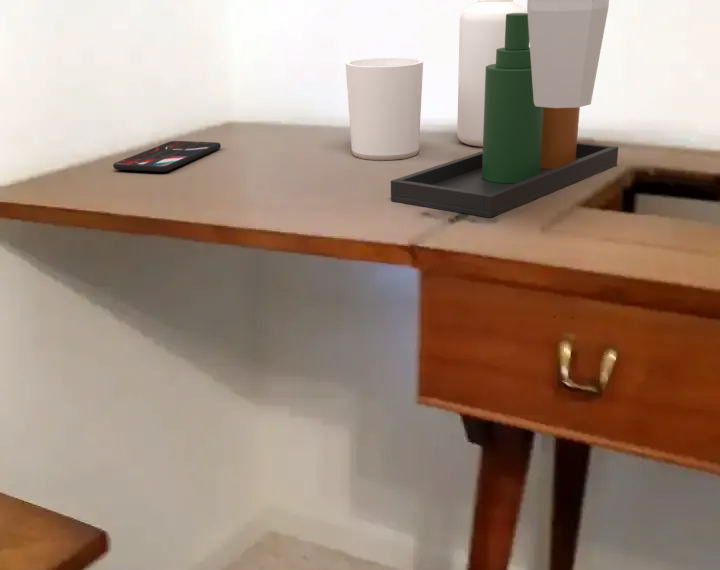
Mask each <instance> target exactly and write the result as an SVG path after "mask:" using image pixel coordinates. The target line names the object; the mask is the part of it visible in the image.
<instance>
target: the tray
mask: <svg viewBox="0 0 720 570" xmlns="http://www.w3.org/2000/svg"><path fill="white" fill-rule="evenodd" d="M619 148H620V147H619V146H614V145H606V144H596V143H595V144H594V143H587V142H580V141H579V142H578V141H577V149H576V160H575V161H573V162H570V163H567V164H565V165H562V166H560V167H557V168H554V169H540V174H539V175H536V176H534V177H531V178H528V179H526V180H523V181H521V182H518V183H515V184H504V183H495V182H490V181H487V180H484V179H483V178H482V158H483V150H481V151H478V152H475V153H472V154H469V155H465V156H462V157H460V158H456V159H454V160H451V161H447V162H443V163H441V164H437V165H435V166H432V167H429V168H426V169H423V170H419V171H416V172H414V173H410V174H407V175H404V176H401V177H398V178H395V179H392V180H390V201H391V202H394V203H395V202H396V203H401V204H408V205H413V206H419V207H426V208H430V209H437V210H444V211H449V212H453V213H455V212H456V213H460V214H465V215H466V214H467V215H472V216H478V217H482V218H488V219H491V218H493V217H496V216H498V215H501V214H503V213H506V212H508V211H510V210H513V209H515V208H518V207H520V206H522V205H524V204H527V203H529V202H531V201H534V200H536V199H539V198H542V197H544V196H546V195H548V194H549V195H550V194H551V193H554V192H556V191H558V190H560V189H563V188H565V187H567V186H570V185H572V184H575V183H577V182H579V181H582V180H584V179H586V178H589V177H592V176H594V175H597V174H599V173H601V172H603V171H606V170H609V169H611V168H613V167H616V166H617V165H618V157H619Z"/></svg>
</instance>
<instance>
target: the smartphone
mask: <svg viewBox="0 0 720 570" xmlns="http://www.w3.org/2000/svg"><path fill="white" fill-rule="evenodd" d="M221 146H222V145H221V143H220V142H217V141H216V142H215V141H214V142H213V141H193V140H192V141H189V140H172V141H167V142H164V143H162V144H160V145H158V146H154V147H152V148H149V149H147V150H144V151H142V152H139V153H137V154H134V155H132V156H129V157H127V158H123V159H122V160H119V161H116V162H114V163H113V165H112V166H113V169H114V170H117V171H118V170H119V171H139V172H161V173H165V172H169V171H171V170H173V169H176V168H178V167H180V166H183V165H185V164H187V163H189V162H191V161H195V160H196V159H198V158H200V157H203V156H205V155H208V154H211V153H212V152H214V151H217V150H219V149H221Z"/></svg>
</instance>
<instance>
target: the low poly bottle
mask: <svg viewBox="0 0 720 570" xmlns="http://www.w3.org/2000/svg"><path fill="white" fill-rule="evenodd" d="M526 3H527V4H526V10H527V13H528V27H529V47H530V56H531V71H532V85H533V100H534V104H535V106H537V107H549V108H577V107H580V108H582V107H586V106H589V105H592V101H593V95H594V88H595V84H596V78H597V73H598V66H599V60H600V57H601V56H600V55H601V51H602V46H603V45H602V44H603V39H604V34H605V29H606V24H607V23H606V22H607V18H608V12H609V5H610V0H527V1H526Z"/></svg>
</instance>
